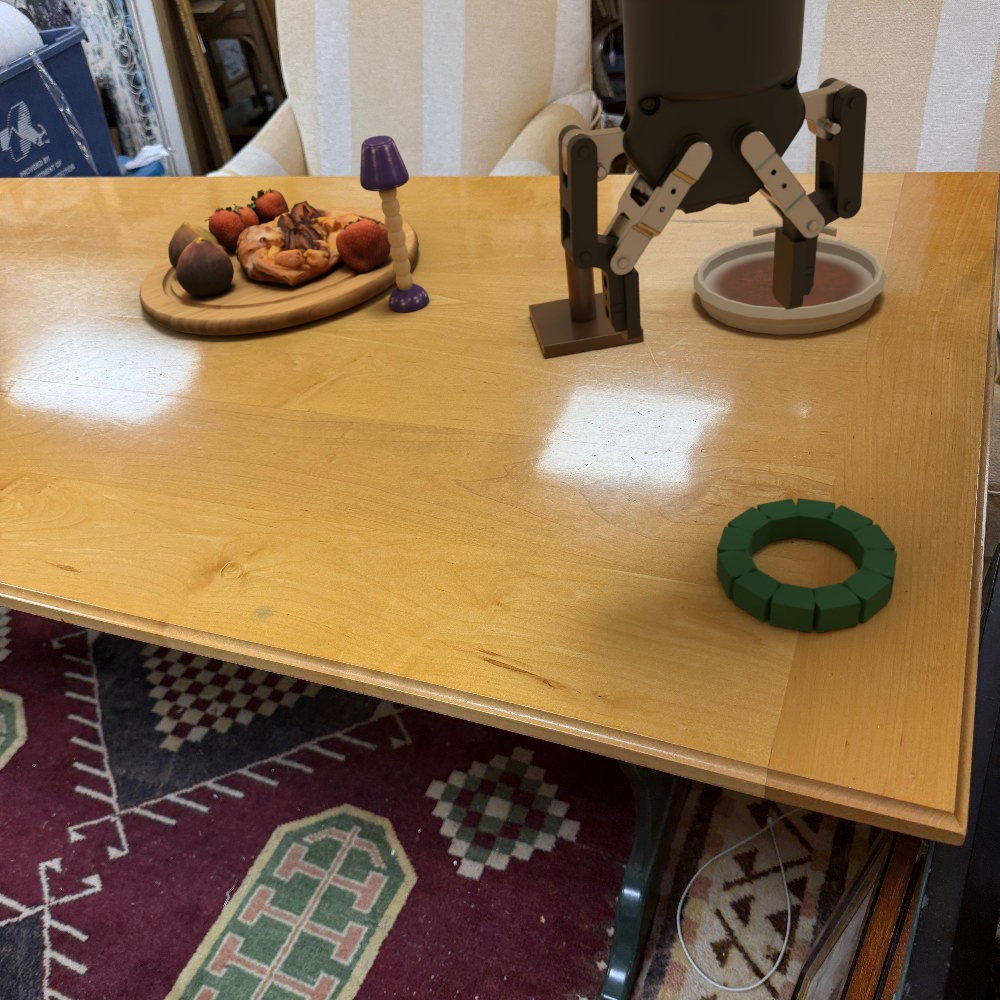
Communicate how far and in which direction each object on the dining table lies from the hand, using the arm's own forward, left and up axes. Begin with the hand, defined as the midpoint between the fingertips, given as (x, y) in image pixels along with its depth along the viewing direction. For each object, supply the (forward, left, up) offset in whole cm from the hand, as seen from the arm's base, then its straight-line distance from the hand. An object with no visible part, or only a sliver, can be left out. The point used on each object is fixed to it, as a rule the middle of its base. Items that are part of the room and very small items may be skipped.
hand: (708, 318), depth 47 cm
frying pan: (-21, -39, -17) cm, 47 cm away
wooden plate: (+31, -61, -17) cm, 70 cm away
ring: (-5, +2, -17) cm, 18 cm away
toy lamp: (+17, -47, -17) cm, 52 cm away
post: (+1, -35, -17) cm, 39 cm away
